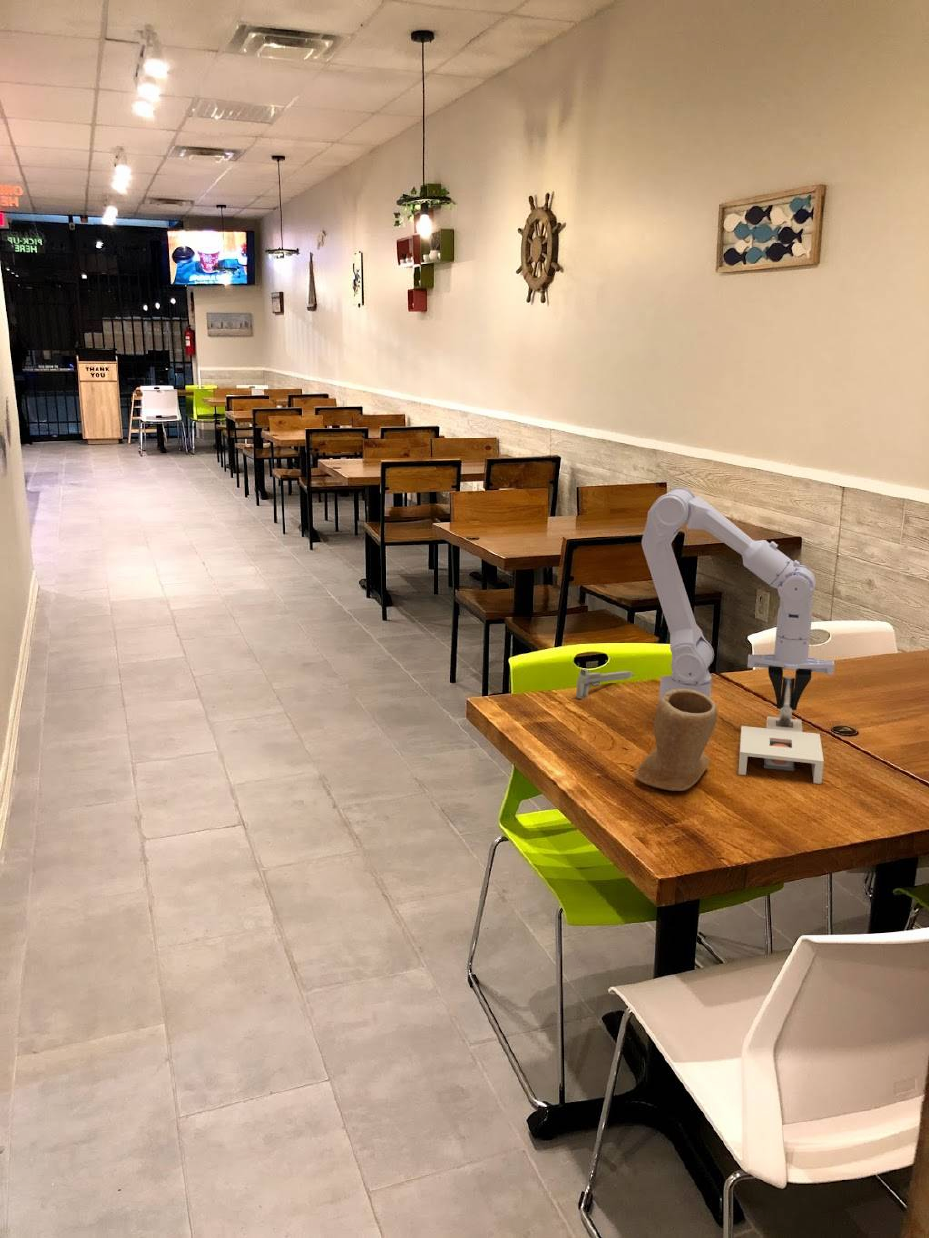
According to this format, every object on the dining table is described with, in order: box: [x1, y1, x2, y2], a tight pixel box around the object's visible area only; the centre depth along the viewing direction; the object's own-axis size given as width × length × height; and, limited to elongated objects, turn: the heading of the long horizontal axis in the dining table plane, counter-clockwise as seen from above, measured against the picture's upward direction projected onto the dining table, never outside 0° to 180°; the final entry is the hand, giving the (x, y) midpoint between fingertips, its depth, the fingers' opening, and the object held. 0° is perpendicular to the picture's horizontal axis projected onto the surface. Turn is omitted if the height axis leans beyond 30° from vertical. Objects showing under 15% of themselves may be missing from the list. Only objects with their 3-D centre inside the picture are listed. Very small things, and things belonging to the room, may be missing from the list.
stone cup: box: [635, 689, 718, 792], centre depth 157 cm, size 15×12×15 cm
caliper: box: [576, 668, 635, 700], centre depth 201 cm, size 20×1×6 cm, turn 139°
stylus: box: [778, 676, 795, 727], centre depth 173 cm, size 2×2×9 cm
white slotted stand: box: [737, 725, 825, 785], centre depth 163 cm, size 13×12×4 cm
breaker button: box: [763, 744, 795, 772], centre depth 163 cm, size 5×5×3 cm
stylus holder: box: [765, 716, 804, 732], centre depth 175 cm, size 6×6×2 cm
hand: (786, 707), depth 174 cm, fingers closed on stylus, 2 cm apart
